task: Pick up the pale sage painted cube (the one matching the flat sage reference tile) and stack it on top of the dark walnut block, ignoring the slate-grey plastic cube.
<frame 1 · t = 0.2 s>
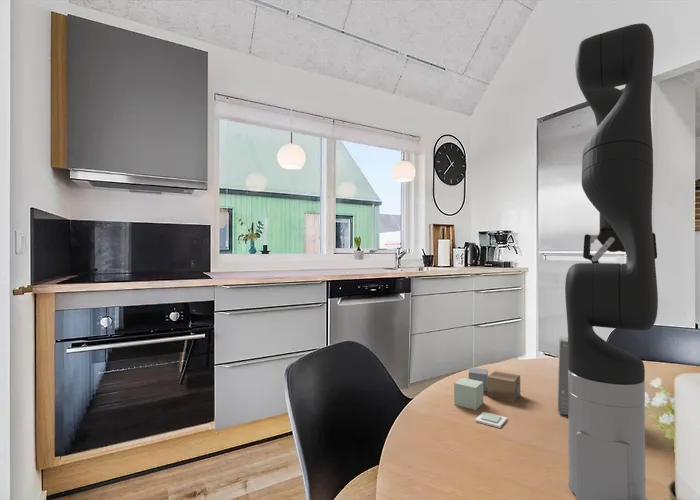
hand: (618, 277, 92), 29 cm above the table, fingers open, 8 cm apart
reference tile: (491, 420, 81), on the table
slate block: (478, 388, 100), on the table
skincare box: (579, 413, 85), on the table
sage block: (468, 404, 90), on the table
walnut block: (504, 396, 94), on the table
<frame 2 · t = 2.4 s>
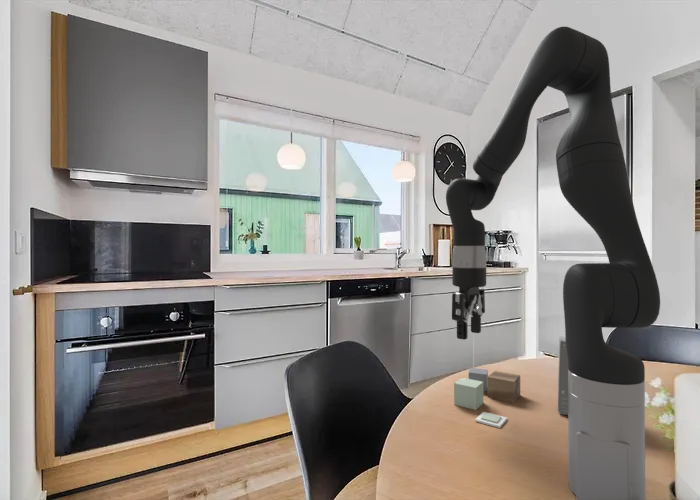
hand: (469, 335, 90), 16 cm above the table, fingers open, 8 cm apart
nothing on the table moved.
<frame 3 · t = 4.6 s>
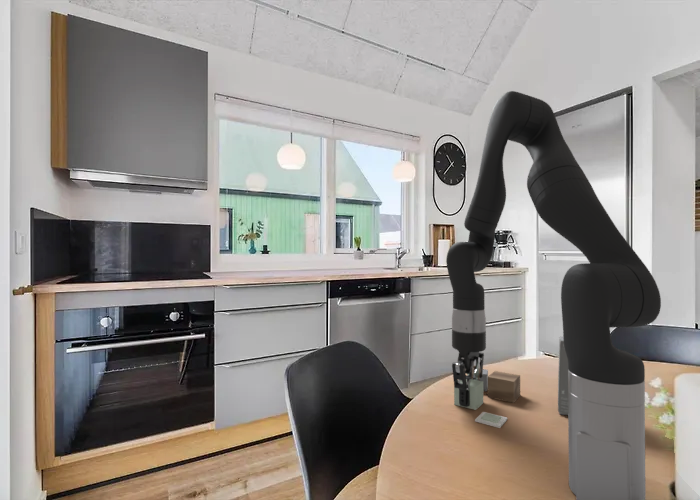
hand: (468, 401, 90), 0 cm above the table, fingers closed on sage block, 5 cm apart
sage block: (468, 403, 90), on the table, touching gripper
everything else where it was.
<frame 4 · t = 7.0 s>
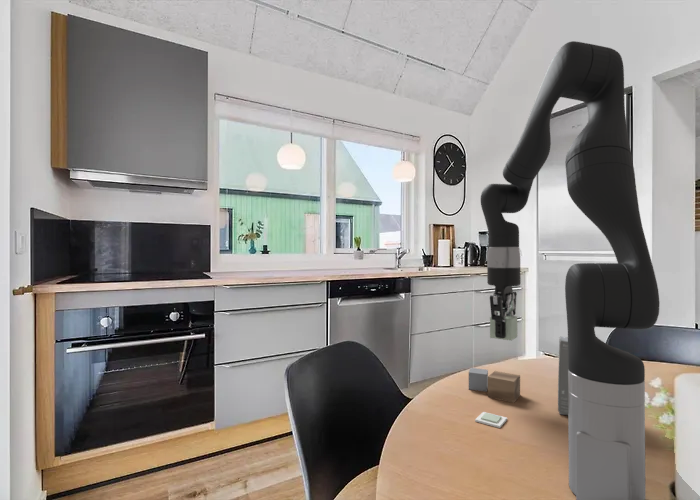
hand: (504, 335, 95), 15 cm above the table, fingers closed on sage block, 5 cm apart
sage block: (503, 337, 95), point 14 cm above the table, touching gripper
everything else where it was.
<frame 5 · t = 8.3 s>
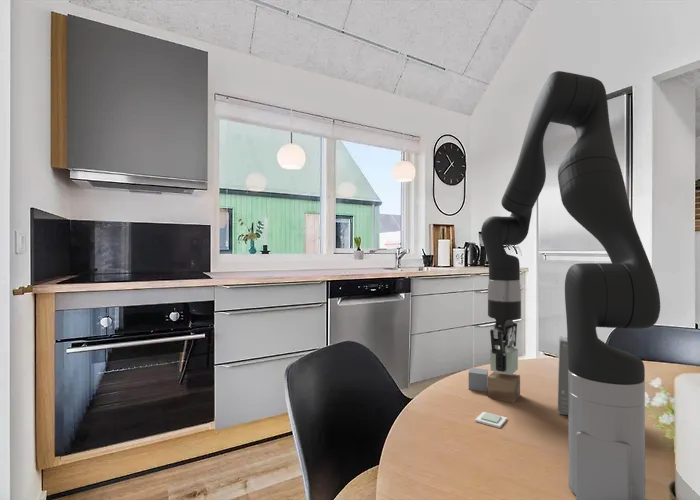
hand: (504, 367, 95), 7 cm above the table, fingers closed on sage block, 5 cm apart
sage block: (504, 369, 95), point 6 cm above the table, touching gripper
everything else where it was.
when the fingers open (6 cm above the table, at t = 9.2 s): sage block stays where it is, resting on walnut block.
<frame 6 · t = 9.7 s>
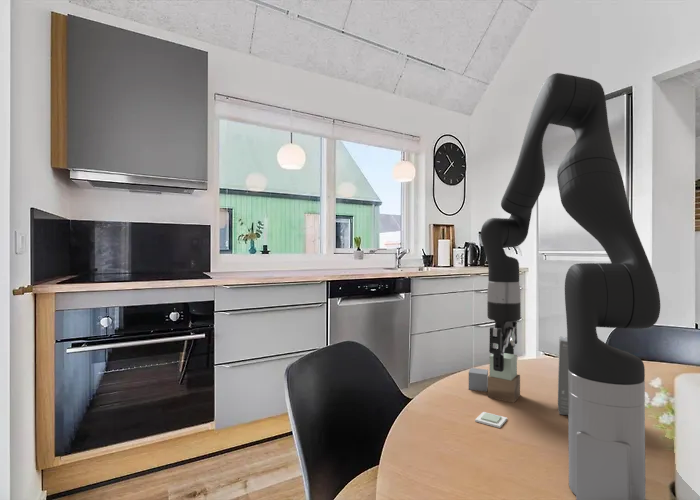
hand: (504, 366, 94), 7 cm above the table, fingers open, 8 cm apart
sage block: (503, 375, 94), point 5 cm above the table, touching walnut block
walnut block: (504, 396, 94), on the table, touching sage block
everything else where it was.
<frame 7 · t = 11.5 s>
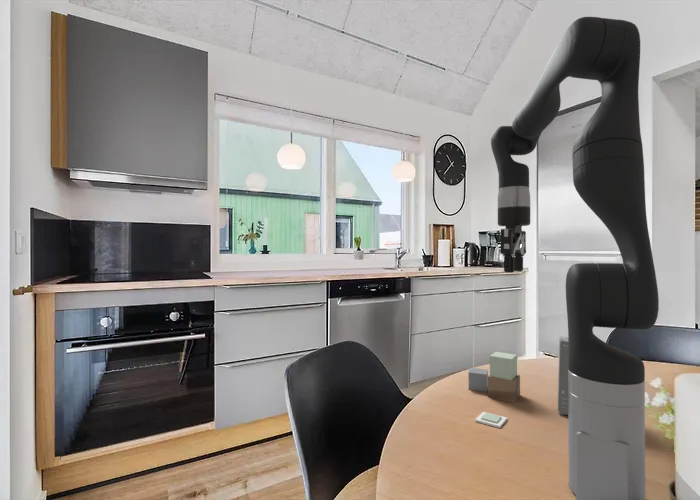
hand: (513, 271, 96), 30 cm above the table, fingers open, 8 cm apart
nothing on the table moved.
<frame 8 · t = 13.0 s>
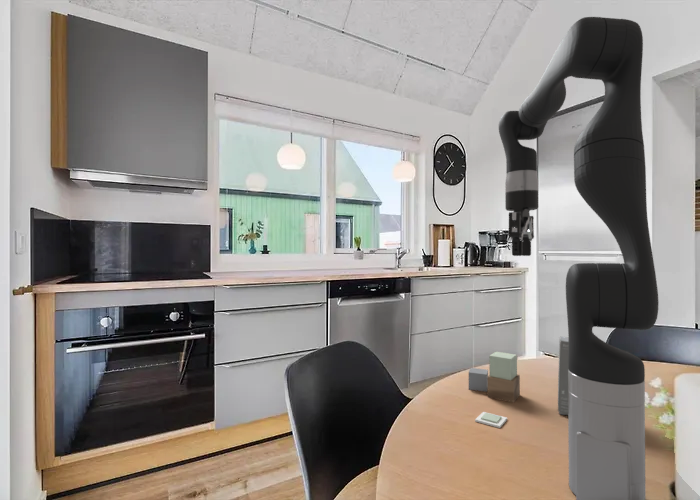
hand: (521, 255, 97), 34 cm above the table, fingers open, 8 cm apart
nothing on the table moved.
at the end: sage block 0.1 cm off-centre on the walnut block, point 5.0 cm above the walnut block's base; sage block tilted 0°; the gripper is holding nothing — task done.
